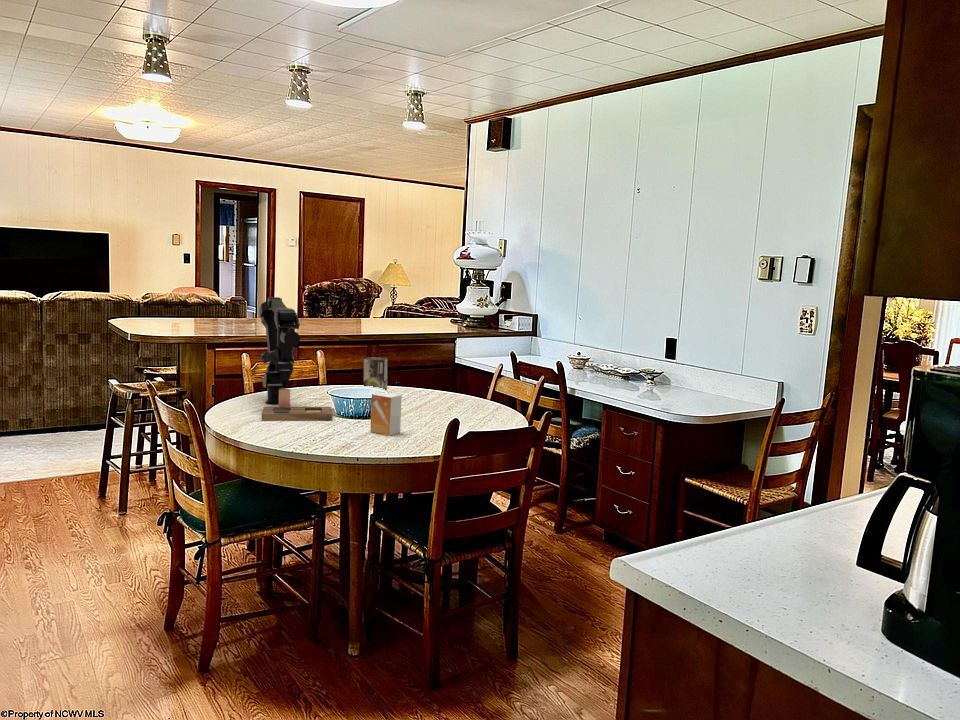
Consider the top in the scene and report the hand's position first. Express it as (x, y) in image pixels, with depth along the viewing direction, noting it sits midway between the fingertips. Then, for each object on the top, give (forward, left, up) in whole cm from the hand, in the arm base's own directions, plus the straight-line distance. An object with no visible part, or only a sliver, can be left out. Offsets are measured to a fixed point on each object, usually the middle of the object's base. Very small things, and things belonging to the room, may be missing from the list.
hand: (284, 385), depth 273 cm
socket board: (+11, +5, -9) cm, 15 cm away
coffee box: (-30, +36, -10) cm, 48 cm away
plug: (0, 0, -9) cm, 9 cm away
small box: (+35, +34, -10) cm, 50 cm away
